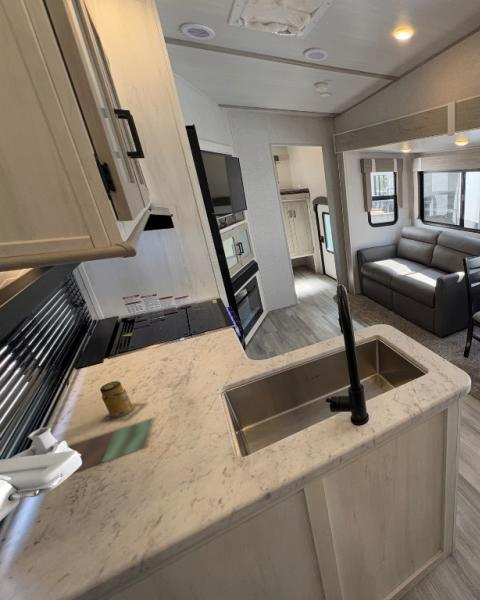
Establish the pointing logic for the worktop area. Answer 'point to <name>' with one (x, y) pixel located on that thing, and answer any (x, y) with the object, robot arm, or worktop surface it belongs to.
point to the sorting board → (112, 445)
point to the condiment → (116, 399)
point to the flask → (44, 441)
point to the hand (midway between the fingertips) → (51, 444)
